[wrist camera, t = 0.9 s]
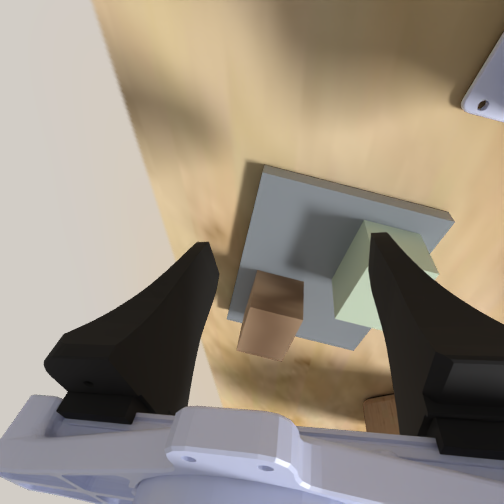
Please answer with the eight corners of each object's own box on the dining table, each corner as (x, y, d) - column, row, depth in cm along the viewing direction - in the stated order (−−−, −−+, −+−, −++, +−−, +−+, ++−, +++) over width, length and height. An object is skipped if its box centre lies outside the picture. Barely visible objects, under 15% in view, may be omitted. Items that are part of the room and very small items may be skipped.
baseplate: (448, 212, 21) (455, 222, 20) (352, 340, 31) (353, 350, 30) (264, 164, 20) (262, 172, 20) (229, 309, 31) (226, 319, 30)
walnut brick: (303, 281, 25) (303, 320, 22) (284, 323, 29) (281, 361, 26) (257, 269, 25) (250, 307, 22) (244, 313, 29) (236, 350, 26)
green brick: (420, 234, 21) (439, 274, 18) (379, 291, 25) (388, 332, 22) (363, 219, 21) (373, 257, 18) (331, 279, 25) (334, 318, 22)
